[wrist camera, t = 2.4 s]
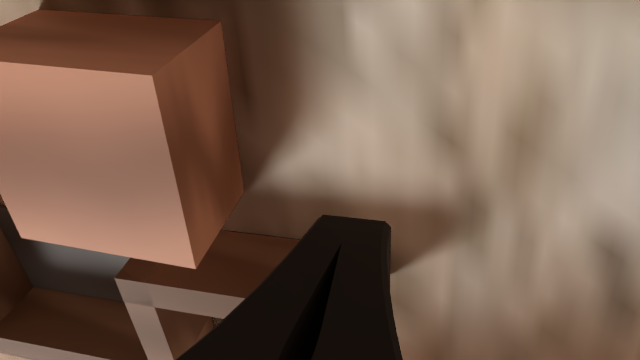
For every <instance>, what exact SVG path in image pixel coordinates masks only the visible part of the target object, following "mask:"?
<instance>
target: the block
mask: <svg viewBox="0 0 640 360" xmlns="http://www.w3.org/2000/svg"><path fill="white" fill-rule="evenodd" d="M243 193H244V188H243V180H242V173H241V165H240V158H239V151H238V143H237V136H236V128H235V121H234V113H233V106H232V99H231V91H230V84H229V76H228V69H227V61H226V54H225V46H224V39H223V32H222V24H221V21H214V20H198V19H182V18H167V17H151V16H135V15H120V14H104V13H88V12H72V11H57V10H41V9H39V10H36V11H34V12H32V13H30V14H27V15H25V16H23V17H21V18H18V19H16V20H14V21H11V22H9V23H7V24H5V25H2V26H0V194H1V196H2V199H3V201H4V203H5V205H6V207H7V209H8V211H9V213H10V215H11V217H12V219H13V221H14V224H15V226H16V228H17V230H18V232H19V234H20V236H21V238H25V239H30V240H36V241H42V242H47V243H53V244H58V245H64V246H69V247H75V248H81V249H86V250H92V251H97V252H103V253H108V254H114V255H120V256H125V257H131V258H136V259H142V260H147V261H153V262H159V263H164V264H170V265H175V266H181V267H186V268H192V269H196V268H197V267H198V265H199V263H200V262H201V260H202V259H203V257H204V255H205V254H206V252H207V251H208V249H209V247H210V246H211V244H212V243H213V241H214V239H215V238H216V236H217V235H218V233H219V232H220V230H221V228H222V227H223V225H224V224H225V222H226V220H227V219H228V217H229V216H230V214H231V212H232V211H233V209H234V208H235V206H236V204H237V203H238V201H239V200H240V198H241V196H242V195H243Z"/></svg>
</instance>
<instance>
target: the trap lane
mask: <svg viewBox="0 0 640 360" xmlns="http://www.w3.org/2000/svg"><path fill="white" fill-rule="evenodd" d="M299 241H300V240H297V239H289V238H281V237H272V236H264V235H256V234H248V233H240V232H231V231H223V230H220V232H219V233H218V235H217V236H216V238H215V239H214V241H213V243H212V244H211V246H210V247H209V249H208V251H207V252H206V254H205V255H204V257H203V259H202V260H201V262H200V263H199V265H198V267H197V268H196V269H192V268H186V267H181V266H175V265H170V264H164V263H159V262H153V261H147V260H142V259H136V258H131V257H125V256H120V255H114V254H108V253H103V252H97V251H92V250H86V249H81V248H75V247H69V246H64V245H58V244H53V243H47V242H42V241H36V240H30V239H25V238H21V236H20V234H19V232H18V230H17V228H16V226H15V224H14V221H13V219H12V217H11V215H10V213H9V211H8V209H7V207H6V206H3V205H0V353H3V354H8V355H13V356H18V357H23V358H27V359H32V360H176V359H177V358H178V357H179V356H181V355H182V354H183V353H184V352H186V351H187V350H188V349H189V348H190V347H192V346H193V345H194V344H195V343H197V342H198V341H199V340H200V339H201V338H203V337H204V336H205V335H206V334H207V333H208V332H209V331H211V330H212V329H213V328H214V324H213V321H212V317H216V318H222V319H224V318H225V317H226V316H227V315H228V314H229V313H230V312H231V311H233V310H234V309H235V308H236V307H237V306H238V305H239V304H240V303H241V302H242V301H243V300H244V299H245V298H246V297H247V296H248V295H249V294H250V293H251V292H252V291H253V290H254V289H255V288H256V287H257V286H258V285H259V284H260V283H261V282H262V281H263V280H264V279H265V278H266V277H267V276H268V275H269V274H270V273H271V272H272V271H273V270H274V269H275V268H276V266H277V265H278V264H279V263H280V262H281V261H282V260H283V259H284V258H285V257H286V256H287V255H288V253H289V252H290V251H291V250H292V249H293V248H294V247H295V246H296V244H297V243H298V242H299ZM390 257H391V251H390Z"/></svg>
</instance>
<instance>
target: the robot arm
mask: <svg viewBox="0 0 640 360" xmlns="http://www.w3.org/2000/svg"><path fill="white" fill-rule="evenodd" d="M390 250H391V227H390V226H389V225H388V224H387V223H386V222H385V221H376V220H367V219H357V218H348V217H339V216H330V215H322V216H321V217H320V218H318V220H317V221H316V222H315V223H314V224H313V226H312V227H311V228H310V229H309V230H308V232H307V233H306V234H305V235H304V236H303V237H302V239H301V240H300V241H299V242H298V243H297V244H296V246H295V247H294V248H293V249H292V250H291V251H290V252H289V253H288V255H287V256H286V257H285V258H284V259H283V260H282V261H281V262H280V263H279V264H278V265H277V266H276V268H275V269H274V270H273V271H272V272H271V273H270V274H269V275H268V276H267V277H266V278H265V279H264V280H263V281H262V282H261V283H260V284H259V285H258V286H257V287H256V288H255V289H254V290H253V291H252V292H251V293H250V294H249V295H248V296H247V297H246V298H245V299H244V300H243V301H242V302H241V303H240V304H239V305H238V306H237V307H236V308H235V309H234V310H233V311H231V312H230V313H229V314H228V315H227V316H226V317H225V318H224V319H223V320H222V321H221V322H220V323H219V324H217V325H216V326H215V327H214V328H213V329H212V330H211V331H209V332H208V333H207V334H206V335H205V336H204V337H203V338H201V339H200V340H199V341H198V342H197V343H195V344H194V345H193V346H192V347H190V348H189V349H188V350H187V351H186V352H184V353H183V354H182V355H181V356H179V357H178V358H177V359H176V360H403V359H402V355H401V350H400V346H399V341H398V337H397V332H396V327H395V322H394V316H393V310H392V303H391V296H390Z"/></svg>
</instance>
